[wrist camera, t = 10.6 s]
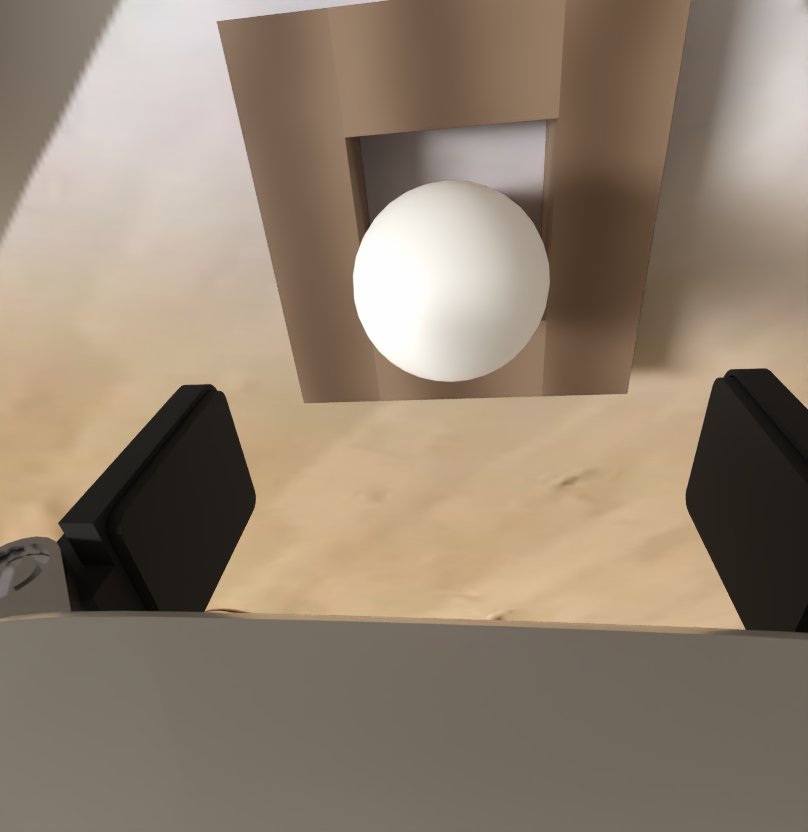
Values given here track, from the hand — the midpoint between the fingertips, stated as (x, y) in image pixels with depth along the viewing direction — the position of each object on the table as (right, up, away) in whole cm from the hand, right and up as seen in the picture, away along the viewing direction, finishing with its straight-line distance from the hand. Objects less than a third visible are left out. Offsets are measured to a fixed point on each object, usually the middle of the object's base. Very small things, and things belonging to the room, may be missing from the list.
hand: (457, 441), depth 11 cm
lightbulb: (+1, +9, +13) cm, 16 cm away
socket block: (+1, +9, +13) cm, 16 cm away
